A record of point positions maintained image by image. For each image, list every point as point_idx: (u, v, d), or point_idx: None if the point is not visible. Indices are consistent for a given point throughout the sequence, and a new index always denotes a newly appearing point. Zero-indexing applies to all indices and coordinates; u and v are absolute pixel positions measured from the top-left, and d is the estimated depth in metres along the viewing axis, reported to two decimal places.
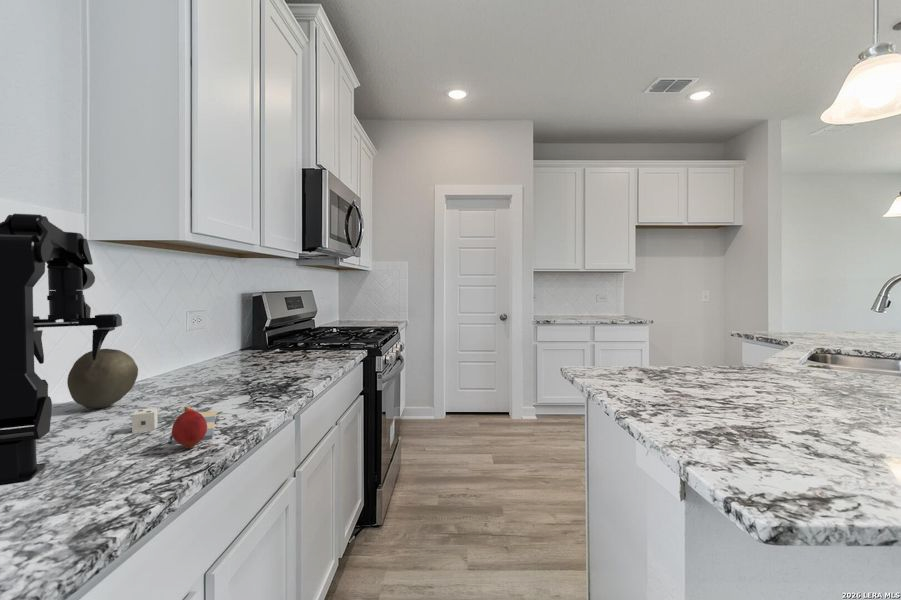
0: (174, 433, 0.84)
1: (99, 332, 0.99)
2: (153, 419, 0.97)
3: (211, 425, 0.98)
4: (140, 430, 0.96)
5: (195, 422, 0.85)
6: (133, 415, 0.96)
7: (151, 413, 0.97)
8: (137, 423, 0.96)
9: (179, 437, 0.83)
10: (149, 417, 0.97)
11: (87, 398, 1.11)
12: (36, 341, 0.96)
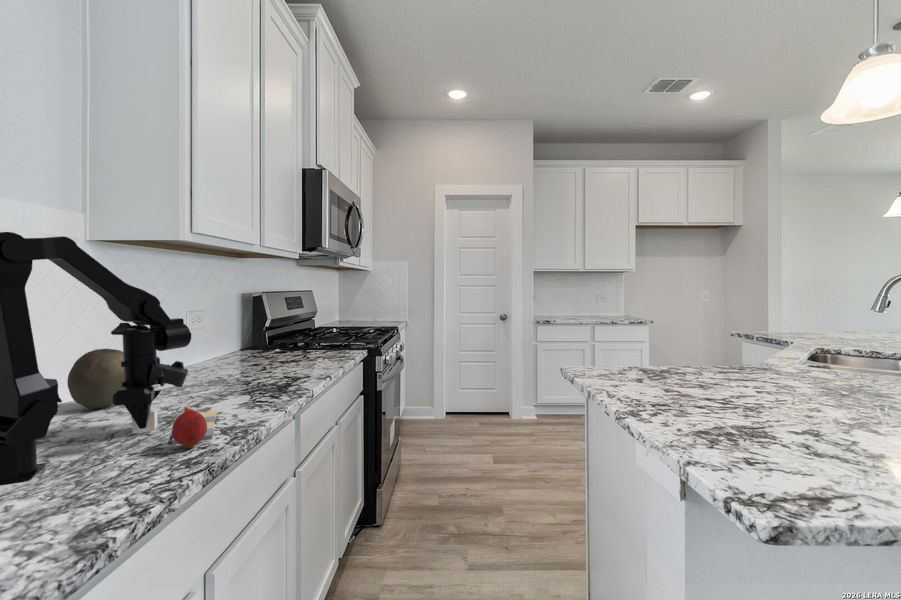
0: (174, 433, 0.84)
1: None
2: (153, 419, 0.98)
3: (211, 425, 0.98)
4: (140, 430, 0.96)
5: (195, 422, 0.85)
6: None
7: (151, 413, 0.97)
8: None
9: (179, 437, 0.83)
10: (149, 417, 0.97)
11: (87, 398, 1.11)
12: None
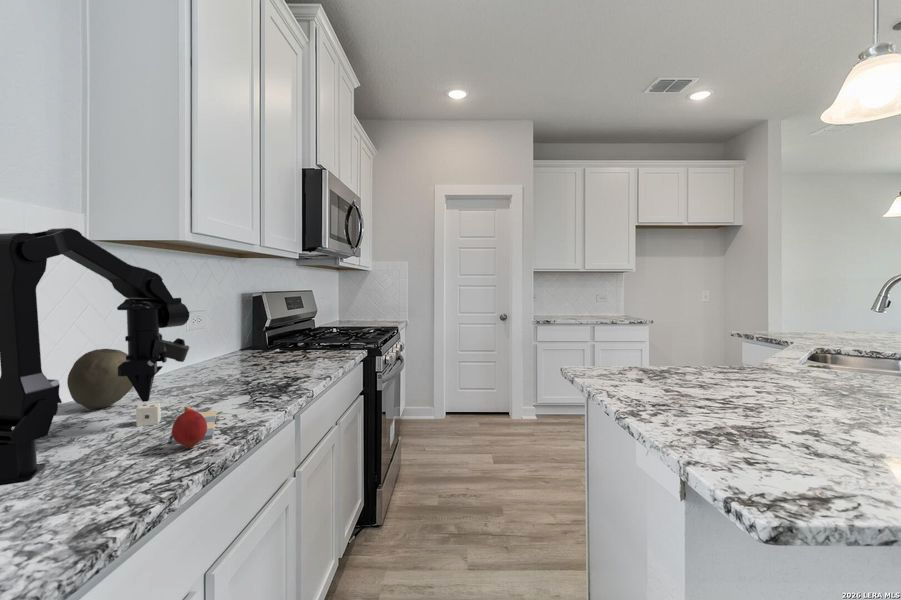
0: (174, 433, 0.84)
1: None
2: (156, 413, 1.02)
3: (211, 425, 0.98)
4: (144, 423, 1.01)
5: (195, 422, 0.85)
6: (137, 409, 1.00)
7: (154, 407, 1.02)
8: (141, 417, 1.01)
9: (179, 437, 0.83)
10: (153, 411, 1.02)
11: (87, 398, 1.11)
12: None
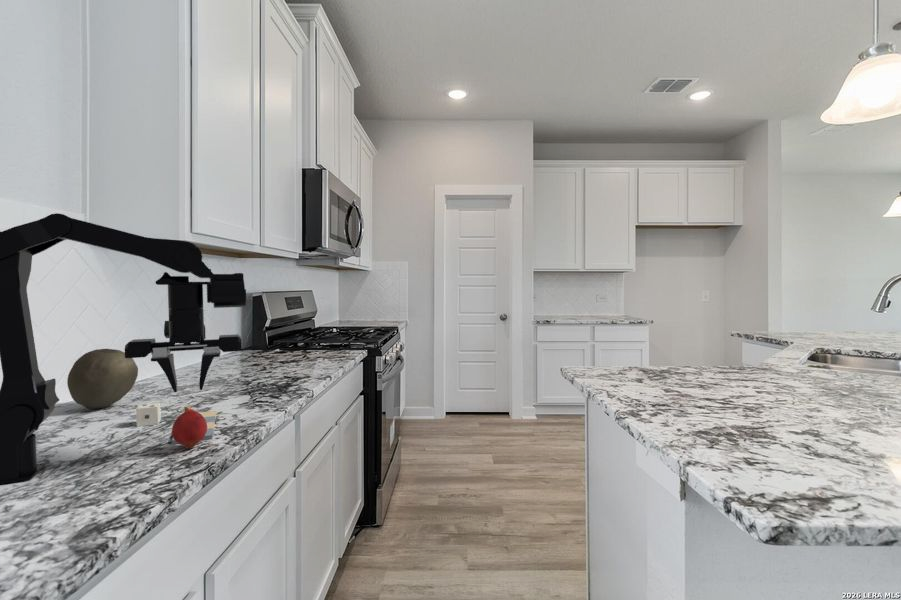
0: (174, 433, 0.84)
1: (209, 358, 0.85)
2: (156, 413, 1.02)
3: (211, 425, 0.98)
4: (144, 423, 1.01)
5: (195, 422, 0.85)
6: (137, 409, 1.00)
7: (154, 407, 1.02)
8: (141, 417, 1.01)
9: (180, 437, 0.83)
10: (152, 411, 1.02)
11: (87, 398, 1.11)
12: (172, 367, 0.84)
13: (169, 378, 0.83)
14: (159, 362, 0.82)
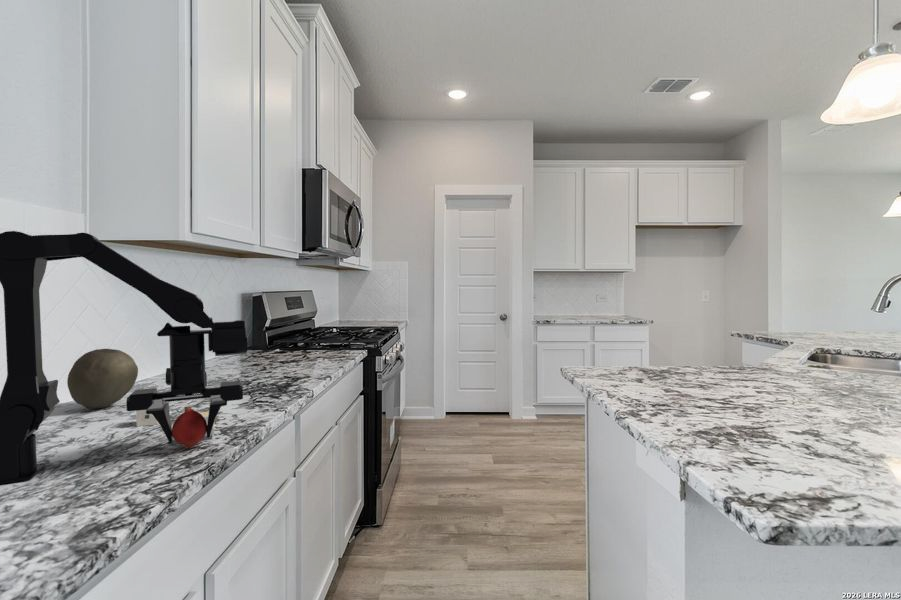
0: (174, 433, 0.84)
1: (216, 407, 0.86)
2: None
3: None
4: (144, 423, 1.01)
5: (195, 422, 0.85)
6: None
7: None
8: (141, 417, 1.01)
9: (180, 437, 0.83)
10: None
11: (87, 398, 1.11)
12: (167, 418, 0.84)
13: (164, 429, 0.83)
14: (154, 415, 0.81)
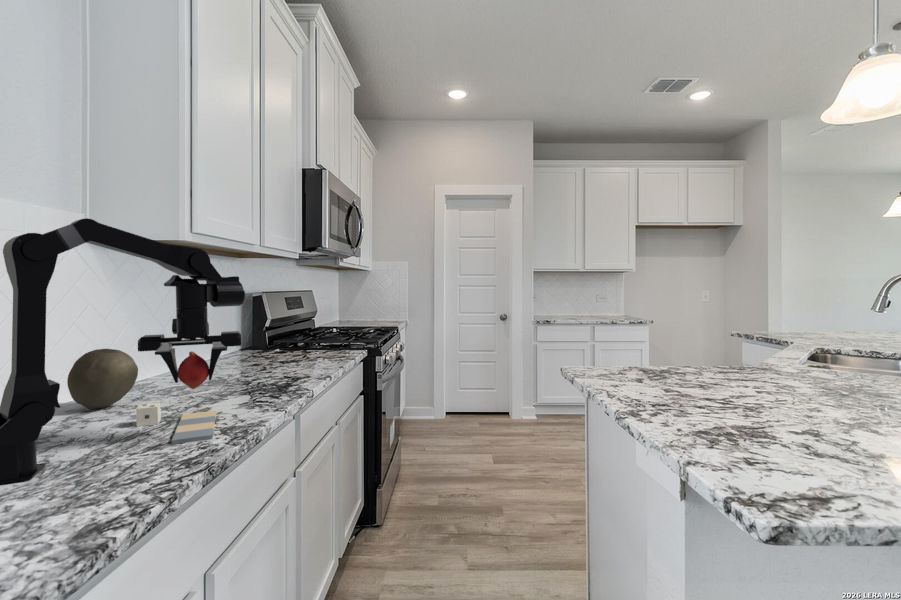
0: (180, 374, 0.94)
1: (217, 351, 0.96)
2: (156, 413, 1.02)
3: (211, 425, 0.98)
4: (144, 423, 1.01)
5: (198, 364, 0.95)
6: (137, 409, 1.00)
7: (154, 407, 1.02)
8: (141, 417, 1.01)
9: (184, 377, 0.93)
10: (152, 411, 1.02)
11: (87, 398, 1.11)
12: (174, 360, 0.94)
13: (171, 370, 0.93)
14: (162, 356, 0.91)
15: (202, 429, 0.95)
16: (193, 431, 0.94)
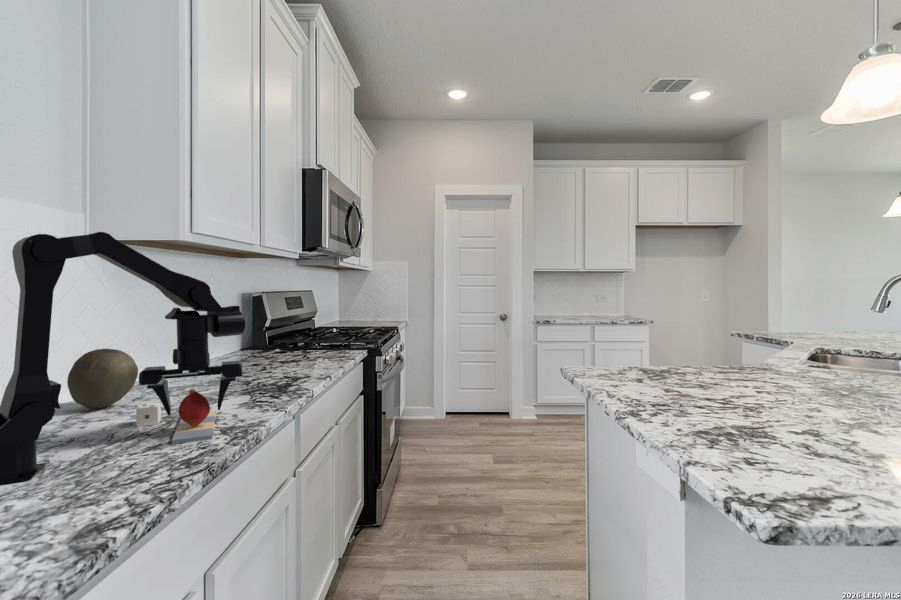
0: (181, 412, 0.94)
1: (226, 382, 0.97)
2: (156, 413, 1.02)
3: (211, 425, 0.98)
4: (144, 423, 1.01)
5: (199, 402, 0.95)
6: (137, 409, 1.00)
7: (154, 407, 1.02)
8: (141, 417, 1.01)
9: (185, 415, 0.94)
10: (153, 411, 1.02)
11: (87, 398, 1.11)
12: (166, 393, 0.93)
13: (163, 403, 0.93)
14: (154, 390, 0.91)
15: (202, 429, 0.95)
16: (193, 431, 0.94)
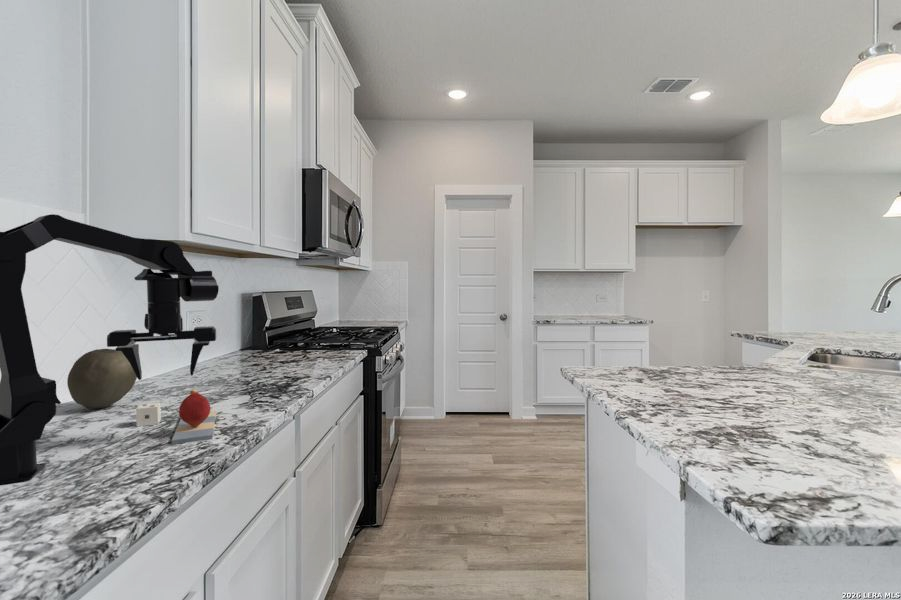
0: (181, 413, 0.94)
1: (198, 346, 0.94)
2: (156, 413, 1.02)
3: (211, 425, 0.98)
4: (144, 423, 1.01)
5: (200, 403, 0.95)
6: (137, 409, 1.00)
7: (154, 407, 1.02)
8: (141, 417, 1.01)
9: (186, 416, 0.94)
10: (153, 411, 1.02)
11: (87, 398, 1.11)
12: (136, 356, 0.91)
13: (133, 366, 0.91)
14: (123, 352, 0.89)
15: (202, 429, 0.95)
16: (193, 431, 0.94)
